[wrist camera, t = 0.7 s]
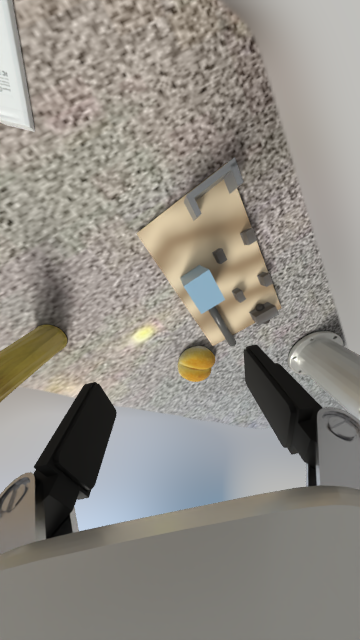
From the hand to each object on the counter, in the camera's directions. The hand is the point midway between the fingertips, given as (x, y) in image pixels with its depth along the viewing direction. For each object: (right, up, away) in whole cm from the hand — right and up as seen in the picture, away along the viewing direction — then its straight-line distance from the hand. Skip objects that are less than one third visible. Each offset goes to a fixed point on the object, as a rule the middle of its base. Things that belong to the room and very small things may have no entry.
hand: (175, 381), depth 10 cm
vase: (-26, 0, +22) cm, 34 cm away
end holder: (+5, +22, +13) cm, 26 cm away
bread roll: (+4, -6, +27) cm, 28 cm away
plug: (+7, +6, +21) cm, 22 cm away
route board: (+7, +12, +18) cm, 23 cm away
